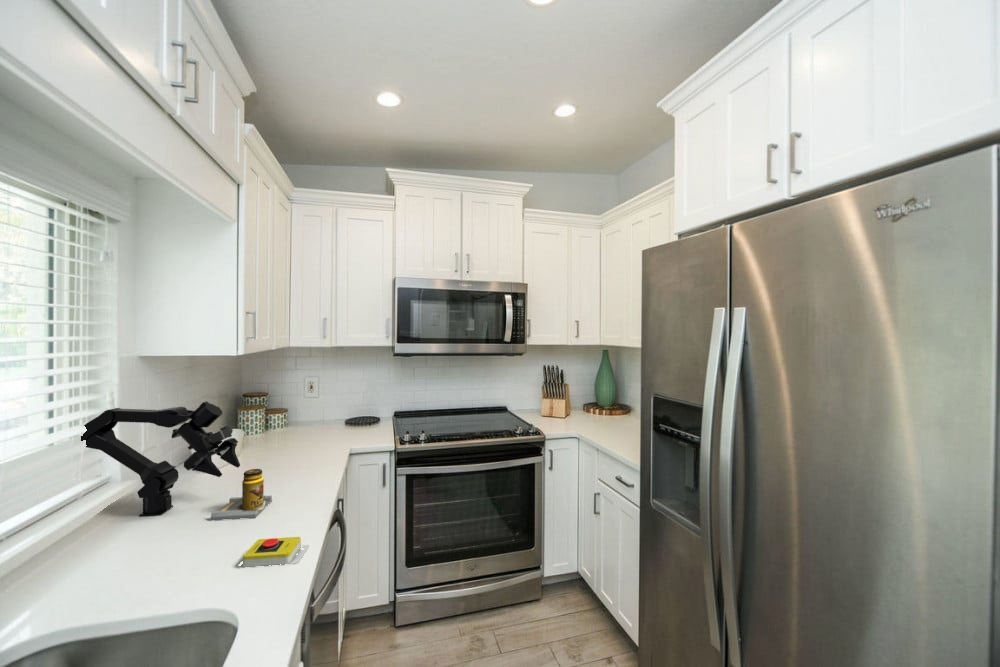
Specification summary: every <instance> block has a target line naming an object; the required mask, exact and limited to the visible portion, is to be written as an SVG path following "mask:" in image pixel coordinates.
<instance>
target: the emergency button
mask: <svg viewBox="0 0 1000 667" xmlns="http://www.w3.org/2000/svg"><path fill="white" fill-rule="evenodd" d="M301 545H302V546H303V547H302V548H304V550H301V549H300V548H301ZM309 548H310V545H308V544H302V539H301V536H289V537H275V538H274V537H273V538H259V539H257V540H256V541H255V542H254V543H253V544H252V545H251V546H250V547H249V548H248V550H247V551H246V552H245V553H244V554H243V556H242V559H241V561H243V564H242V565H241V566H238V564H240V562H239V563H238V564H237V565H236V568H237V569H245V567H250V568H256V567H255V566H264V567H273V566H272V565H279V566H286V565H285V564H293V565H298V564H299V563H300V562H301V560H302V559H303V558H304V556H305V555H304V554H306V553H307V552H308V550H309ZM297 553H298V555H296V554H297ZM297 563H298V564H297ZM280 564H281V565H280ZM269 565H271V566H269Z"/></svg>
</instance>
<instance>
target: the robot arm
mask: <svg viewBox="0 0 1000 667" xmlns="http://www.w3.org/2000/svg"><path fill="white" fill-rule="evenodd" d="M222 415H223V411H222V409H221V408H220V407H219V406H217V405H215V404H213V403H210V402H209V401H203V402H202V403H201V404H200V405H199V406H198V407H197V408H196V409H195V410H191V409H190V410H189V409H187V408H186V407H185V406H175V407H168V408H163V409H162V408H161V409H144V408H143V409H141V408H139V409H137V408H120V407H114V408H110V409H106V410H104V411H103V412H101V413H100V414H99V415H98V416H96V417H95V418H93V419H91V420H90V421H88V422H87V423H85V424H84V425H83V426H85V427H86V429H87V431H86V432H85V433H84V434H83V436H81V441H83V440H86V445H87V446H86V447H85V448H88V449H92V450H93V449H94V450H98V451H101V452H103V453H105V455H107V456H109V457H111V458H112V459H114V461H115V460H116V462H119V463H120V464H122V465H123V466H125V467H126V468H128V469H130V470H131V471H133V472H134V473H135V474H137V475H139V477H140V480H141V483H142V484H143V486H142V487H140V488H139V490H137V492H136V493H137V495H138V497H139V499H142V512H141V513H139V514H138V516H139V517H147V516H161V515H163V514H165V513H166V512H168V511H169V510H171V509H172V508H173V507H174V505H173V504H172V495H171V489H173V488H174V486H175V483H176V482H177V481H178V479H179V477H180V476H179V471H178V470H177V467H176V466H175V465H172V464H171V463H170V462H169V461H167V460H163V461H161V462H159V463H158V462H154V461H152V460H151V459H150V458H148V457H146V456H144V454H141V453H140V452H138V451H137V450H135V449H133V448H132V447H131V446H129V445H128V444H126V443H124V442H123V441H121V440H120V439H118V438H117V437H116V433H115V431H114V428H115V427H116V426H117V424H118V423H143V424H144V423H145V424H147V423H149V424H154V425H156V426H158V427H164V428H173V427H177V426H179V427H178V428H174V429H172V434H171V438H172V439H175V438H178V437H181V439H183V440H184V441H185V442H186V443H187V445H188V447H187V449H188V450H191V451H192V450H193V451H194V452H193V453H192V454H191V455H189V456H188V458H187V459H186V460H185V461H184V462H183V468H185V470H187V471H190V470H191V471H193V472H194V471H196V472H199V473H200V472H201V473H203V474H204V473H205V474H208V475H210V476H214V477H218V478H220V477H222V476H223V473H222V472H221V470H220V469H219V468H218V467H217V465H216V464H215V463H214V462H213V458H212V456H214V455H217V456H219V459H221V460H223V461H224V462H226V463H228V464H230V465H232V466H233V467H235V468H240V466H241V463H240V461H239V458H238V455H237V453H236V447H237V446H238V443H239V441H238V440H237V439H236V438H235V437H233V432H234V430H233V429H232V428H231V427H230V426H229V425H225V426H223V427H221V428H220V429H219V430H218V431H216V432H214V433H213V432H212V431H209V432H207V431H206V430H205V429H204V428H209V427H210V426H212V425H213V423H215V422H216V421H217V420H218V419H219V418H220V417H221V416H222ZM171 507H172V508H171ZM170 508H171V509H170ZM167 510H168V511H167ZM164 512H165V513H164Z"/></svg>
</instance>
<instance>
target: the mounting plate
mask: <svg viewBox="0 0 1000 667" xmlns="http://www.w3.org/2000/svg"><path fill="white" fill-rule="evenodd" d="M272 502H273V498H272V499H271V500H267V501H266V502H265V506H264V509H262V510H258V513H257V514H256V515H239V516H222V517H211V516H210V521H211V520H215V521H223V520H222V519H232V520H241V519H240V518H249V519H256V518H257V517H258V516H259V515H260V514H261V513H262V512H263V511H264V510H265V509H266V508H267V507H268V506H269V505H270V504H272ZM237 504H242V502H228V503H227V504H225V505H224V506H223V507H221V509H220V510H218V511H233V510H235V508H236V505H237ZM268 504H269V505H268ZM266 506H267V507H266ZM265 507H266V508H265Z"/></svg>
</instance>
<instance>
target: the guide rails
mask: <svg viewBox="0 0 1000 667" xmlns="http://www.w3.org/2000/svg"><path fill="white" fill-rule="evenodd" d="M263 496H264V498H263V501H267V500H271V499H272V500H273V498H272V497H273V495H271V494H270V495H263ZM229 502H242V496H236V497H235V496H233V497H230V498H229ZM229 502H228V503H229ZM257 513H258V509H251V510H233V511H219V510H218V511H217V510H216V511H212V512H211V514H210V518H211V517H222V516H239V515H256V514H257Z"/></svg>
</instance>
